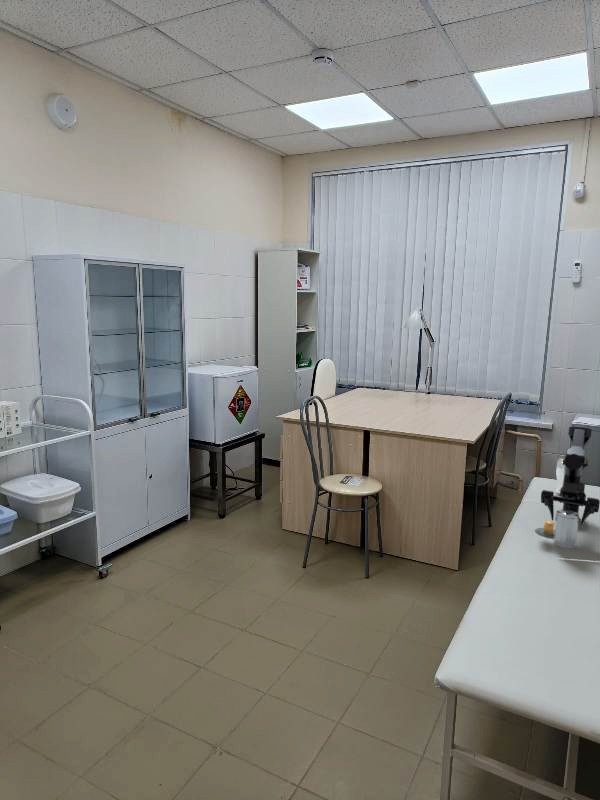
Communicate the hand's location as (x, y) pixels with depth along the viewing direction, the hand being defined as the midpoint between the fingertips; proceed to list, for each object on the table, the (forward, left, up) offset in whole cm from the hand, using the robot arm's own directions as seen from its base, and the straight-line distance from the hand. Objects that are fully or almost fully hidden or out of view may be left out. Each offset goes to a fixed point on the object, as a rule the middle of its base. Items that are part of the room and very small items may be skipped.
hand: (566, 522), depth 193 cm
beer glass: (-57, +16, -8) cm, 59 cm away
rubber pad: (-9, -3, -8) cm, 12 cm away
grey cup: (0, 0, -8) cm, 8 cm away
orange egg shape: (-9, -3, -8) cm, 12 cm away
